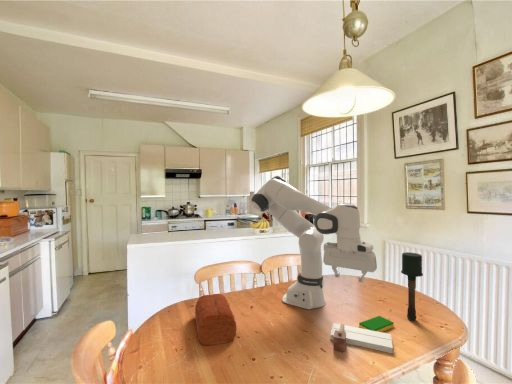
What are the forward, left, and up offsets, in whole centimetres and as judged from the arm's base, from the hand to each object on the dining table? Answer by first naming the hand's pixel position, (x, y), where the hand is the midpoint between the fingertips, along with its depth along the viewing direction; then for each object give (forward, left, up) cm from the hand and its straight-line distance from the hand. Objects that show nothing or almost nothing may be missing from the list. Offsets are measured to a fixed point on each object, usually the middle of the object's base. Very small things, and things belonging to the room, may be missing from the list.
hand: (348, 279), depth 104 cm
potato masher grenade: (+25, +29, -24) cm, 45 cm away
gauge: (-3, -3, -24) cm, 24 cm away
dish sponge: (+10, +15, -25) cm, 30 cm away
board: (+4, +2, -24) cm, 24 cm away
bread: (-54, -13, -24) cm, 61 cm away
